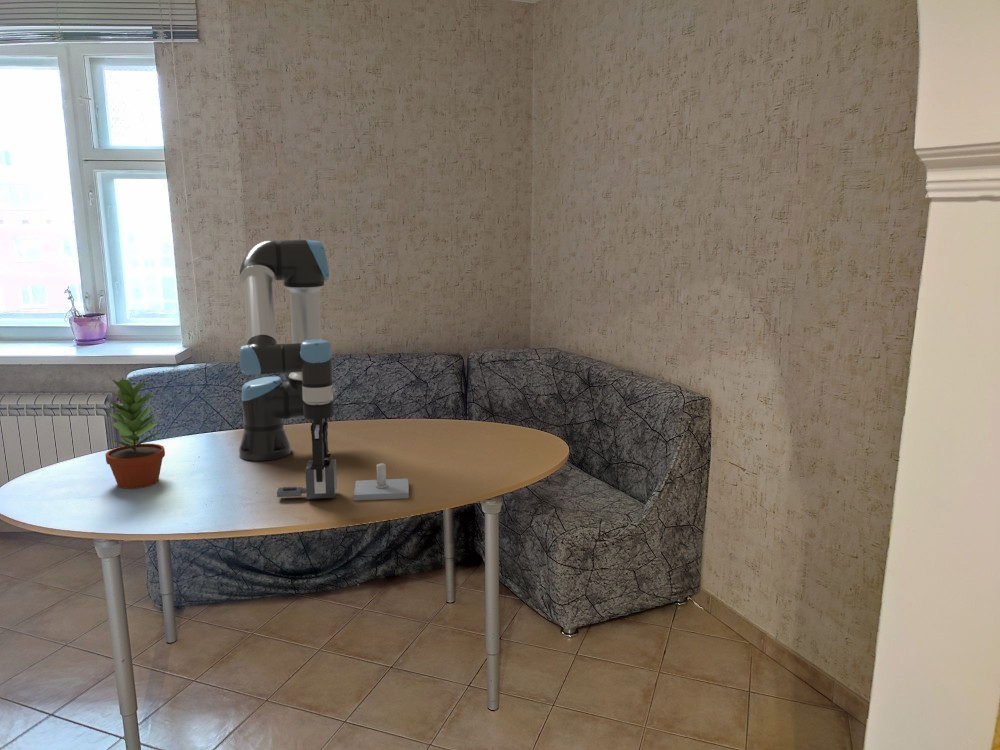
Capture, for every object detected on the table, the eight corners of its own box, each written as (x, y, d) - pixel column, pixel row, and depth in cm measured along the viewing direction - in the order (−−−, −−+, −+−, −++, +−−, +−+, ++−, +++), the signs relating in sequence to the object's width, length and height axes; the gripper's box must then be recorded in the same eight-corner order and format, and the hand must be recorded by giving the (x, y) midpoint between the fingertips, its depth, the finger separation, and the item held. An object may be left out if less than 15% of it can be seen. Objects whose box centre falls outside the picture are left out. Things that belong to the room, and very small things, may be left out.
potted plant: (180, 478, 210) (171, 372, 204) (130, 495, 197) (119, 382, 191) (146, 469, 217) (137, 366, 211) (96, 484, 204) (84, 376, 198)
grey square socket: (275, 499, 191) (274, 469, 190) (280, 490, 198) (278, 461, 196) (334, 497, 193) (333, 467, 191) (337, 488, 200) (336, 459, 198)
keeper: (353, 500, 194) (352, 472, 193) (356, 485, 205) (355, 459, 203) (408, 498, 196) (408, 470, 194) (408, 483, 207) (407, 457, 205)
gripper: (329, 410, 182) (333, 500, 187) (336, 392, 201) (339, 474, 206) (297, 411, 181) (302, 502, 186) (307, 393, 200) (311, 475, 205)
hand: (322, 487), depth 196 cm, fingers closed on grey square socket, 7 cm apart
